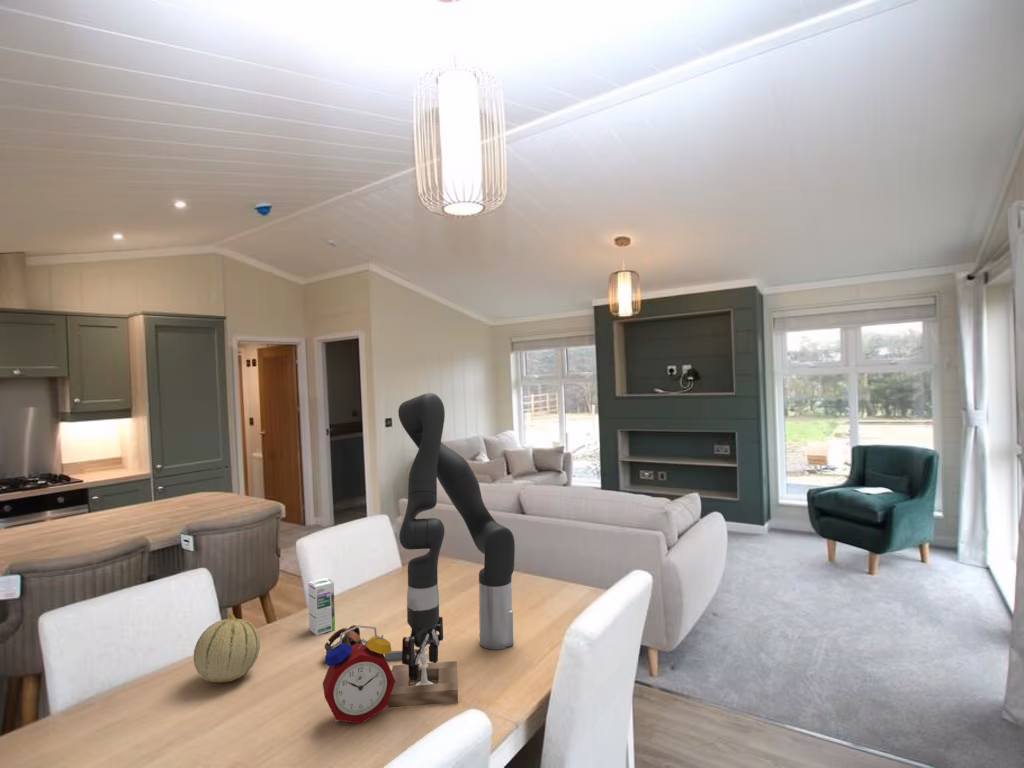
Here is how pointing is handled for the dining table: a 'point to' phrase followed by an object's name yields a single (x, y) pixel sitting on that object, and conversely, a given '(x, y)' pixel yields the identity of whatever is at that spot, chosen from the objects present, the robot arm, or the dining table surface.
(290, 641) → the dining table surface
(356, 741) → the dining table surface
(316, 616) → the syrup box
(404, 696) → the block
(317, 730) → the dining table surface
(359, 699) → the alarm clock
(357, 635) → the pottery mug
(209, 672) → the cantaloupe
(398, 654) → the stand rails
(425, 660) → the chess piece
